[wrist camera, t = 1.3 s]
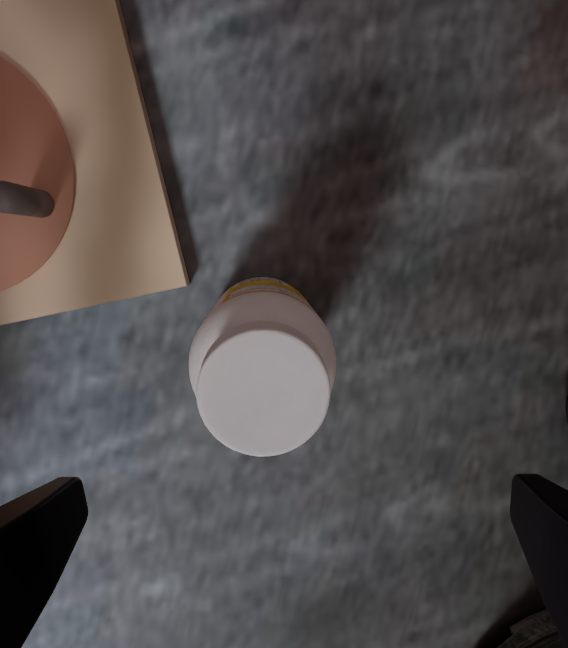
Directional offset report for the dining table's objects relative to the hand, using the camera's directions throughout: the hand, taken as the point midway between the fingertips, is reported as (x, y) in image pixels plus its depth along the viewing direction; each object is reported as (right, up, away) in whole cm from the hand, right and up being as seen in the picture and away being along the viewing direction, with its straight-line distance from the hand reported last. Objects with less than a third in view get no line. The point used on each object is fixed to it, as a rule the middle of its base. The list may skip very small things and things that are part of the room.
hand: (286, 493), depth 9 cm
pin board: (-15, +10, +11) cm, 21 cm away
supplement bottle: (-1, +3, +13) cm, 14 cm away
